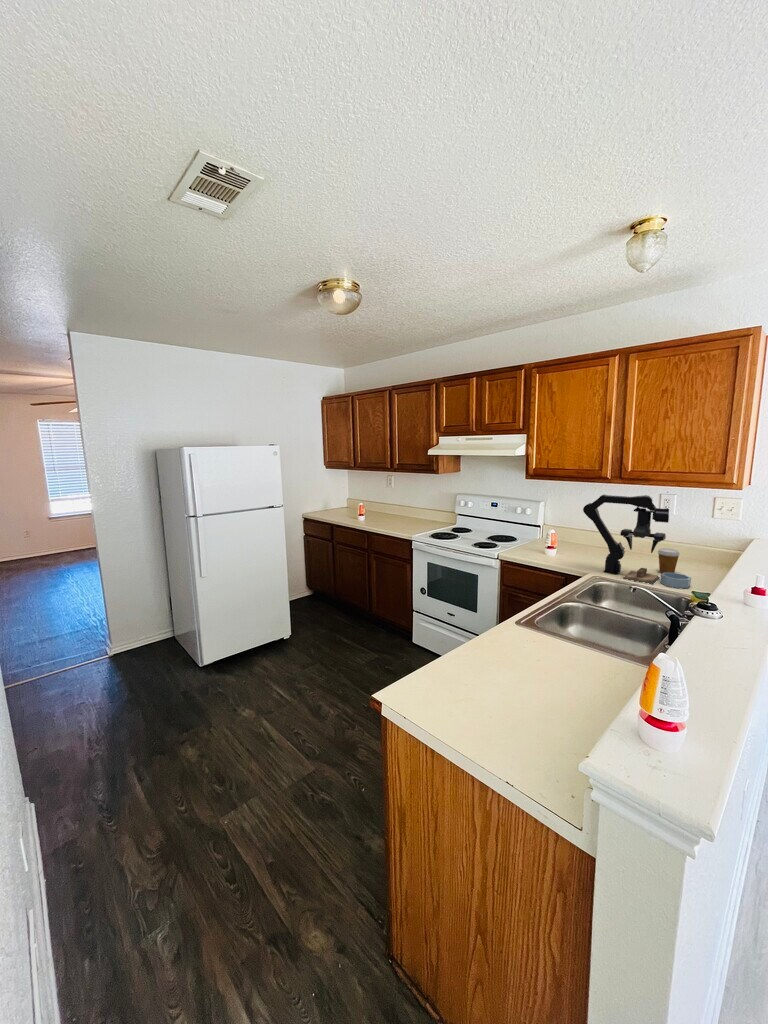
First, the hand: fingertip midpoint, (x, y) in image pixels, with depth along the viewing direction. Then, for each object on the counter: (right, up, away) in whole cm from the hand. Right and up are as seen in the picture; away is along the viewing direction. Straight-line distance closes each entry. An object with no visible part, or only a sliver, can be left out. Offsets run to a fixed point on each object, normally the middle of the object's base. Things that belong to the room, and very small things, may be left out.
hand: (641, 551), depth 210 cm
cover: (-1, -13, -2) cm, 13 cm away
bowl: (+9, -15, -12) cm, 21 cm away
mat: (-1, -14, -2) cm, 14 cm away
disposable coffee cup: (+18, -12, +7) cm, 23 cm away
